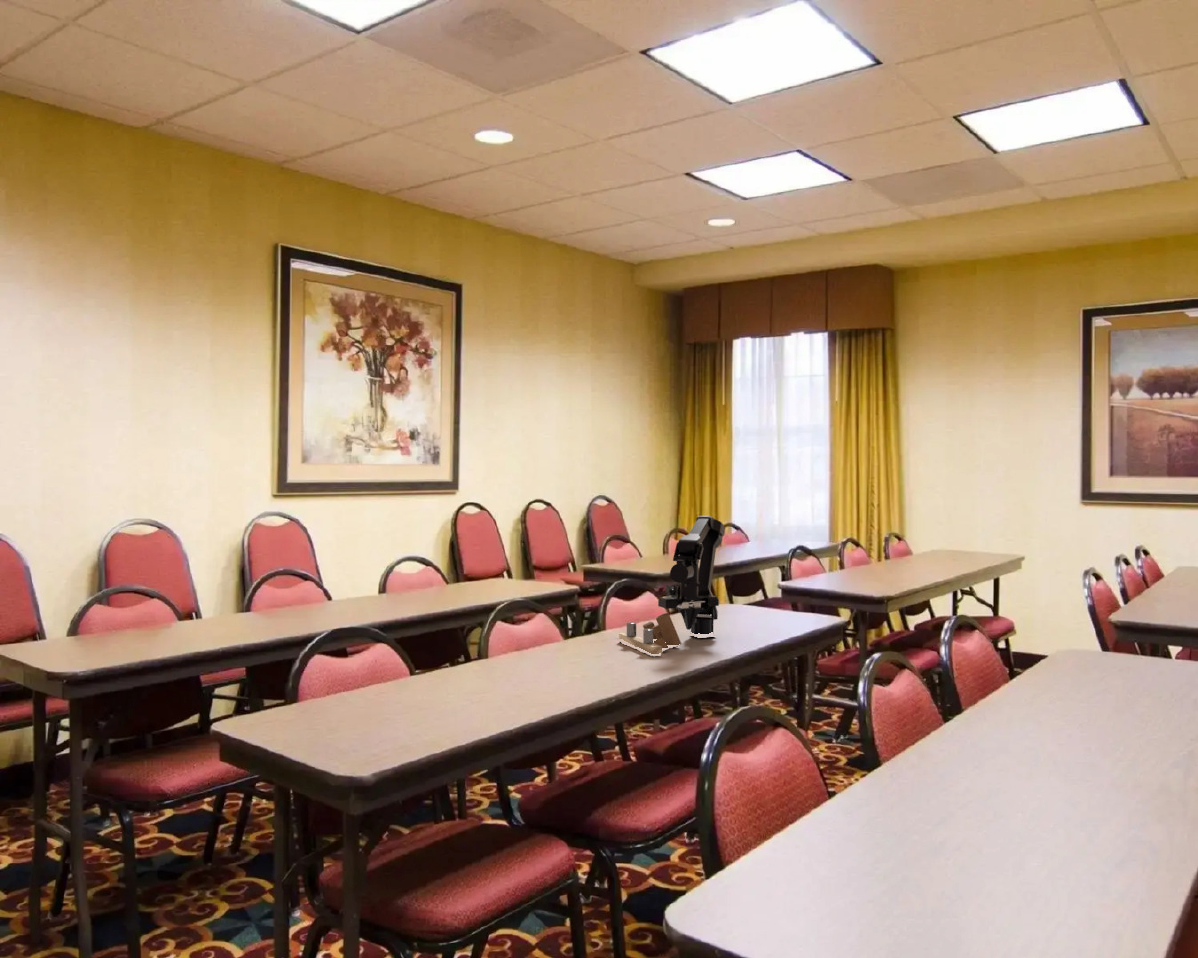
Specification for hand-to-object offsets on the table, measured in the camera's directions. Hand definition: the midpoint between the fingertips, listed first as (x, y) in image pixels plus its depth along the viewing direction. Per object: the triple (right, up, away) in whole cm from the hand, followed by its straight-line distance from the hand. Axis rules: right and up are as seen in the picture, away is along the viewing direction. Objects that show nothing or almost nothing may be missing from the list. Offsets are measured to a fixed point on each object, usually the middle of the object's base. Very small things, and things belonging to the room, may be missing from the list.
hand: (688, 629), depth 288 cm
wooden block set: (-8, -6, -2) cm, 10 cm away
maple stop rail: (-15, -5, -6) cm, 17 cm away
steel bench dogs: (-15, -5, -6) cm, 17 cm away
